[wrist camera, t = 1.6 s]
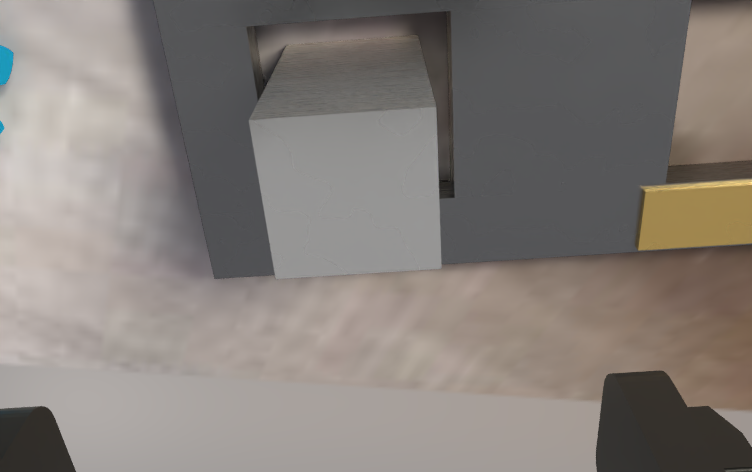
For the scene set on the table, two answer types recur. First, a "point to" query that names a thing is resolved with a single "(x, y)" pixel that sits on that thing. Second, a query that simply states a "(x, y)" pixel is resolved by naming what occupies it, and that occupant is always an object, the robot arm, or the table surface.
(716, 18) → the table surface
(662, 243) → the fixture plate
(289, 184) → the steel block
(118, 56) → the table surface
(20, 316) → the table surface
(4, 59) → the gear
